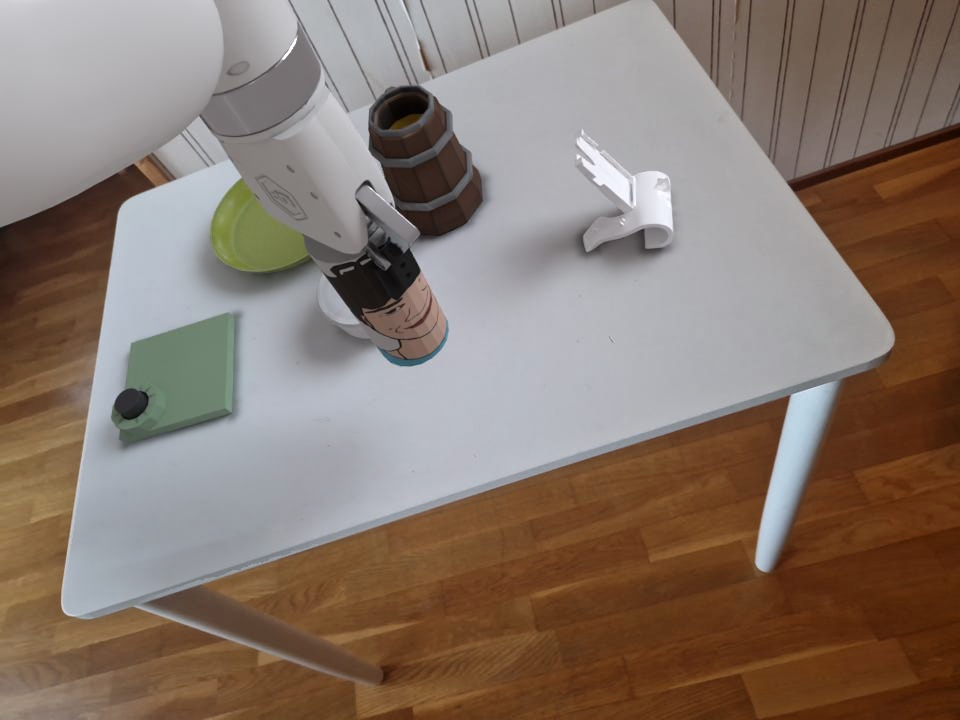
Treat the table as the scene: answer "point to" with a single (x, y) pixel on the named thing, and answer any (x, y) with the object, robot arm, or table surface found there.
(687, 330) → the table surface
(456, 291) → the table surface
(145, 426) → the scale
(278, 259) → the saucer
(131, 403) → the button
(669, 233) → the plastic part
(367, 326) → the cup
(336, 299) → the ramekin
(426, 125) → the mug
